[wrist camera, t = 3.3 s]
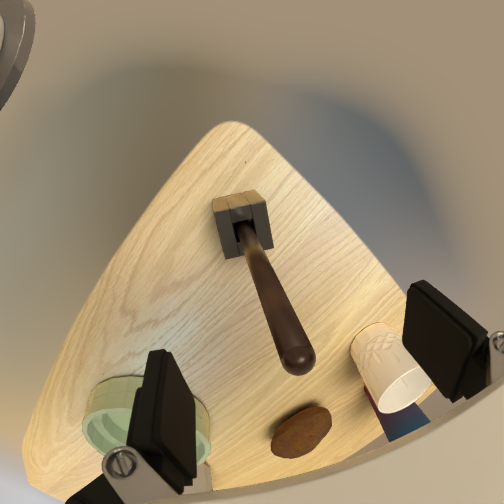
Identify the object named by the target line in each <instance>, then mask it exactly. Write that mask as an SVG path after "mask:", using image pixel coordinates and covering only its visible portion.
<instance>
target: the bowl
mask: <svg viewBox="0 0 504 504" xmlns="http://www.w3.org/2000/svg"><path fill="white" fill-rule="evenodd" d="M142 383H143V377H133V376H127V377H119V378H112V379H109V380H107V381H105V382H102V383H100V384H98V385H97V386H96V388H95V389H94V390H93V391H92V393H91V395H90V398H89V401H88V404H87V408H86V411H85V414H84V418H83V421H82V432H83V434H84V436H85V438H86V440H87V442H88V443H89V444H90V445H91V446H92V447H93V448H94V449H96V450H97V451H98V452H99V453H101V454H102V455H104V456H105V455H106V454H107V453H108V452H109V451H110V450H111V449H113V448H116V447H119V446H126V440H127V435H128V429H129V423H130V418H131V412H132V407H133V402H134V397H135V392H136V390H137V388H138V387H142ZM194 400H195V404H196V458H197V466H198V465H200V464H202V463H204V462H205V460H206V459H207V458H208V457H209V455H210V449H211V443H210V430H209V416H208V414H207V412H206V410H205V408H204V406H203V404H202V403H200V402H199V401H198V400H197V399H196V398H195V397H194Z"/></svg>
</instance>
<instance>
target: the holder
mask: <svg viewBox="0 0 504 504" xmlns="http://www.w3.org/2000/svg"><path fill="white" fill-rule="evenodd" d="M213 210H214V216H215V220H216V224H217V228H218V232H219V236H220V240H221V244H222V248H223V252H224V256H225V259H230V258H234V257H239V256H243V255H245V254H244V251H243V248H242V245H241V242H240V239H239V236H238V233H237V230H236V227H235V224H233V223H236V222H240V221H244V220H248V221H249V223H250V225H251V227H252V229H253V230H254V232H255V234H256V236H257V238H258V240H259V242H260V244H261V246H262V248H263V250H268V249H272V248H274V245H273V240H272V234H271V229H270V223H269V218H268V212H267V207H266V201H265V200H264V199H263V198H262V197H261V196H260V195H259V194H258V193H257V192H256V190H251V191H247V192H243V193H237V194H233V195H229V196H224V197H220V198H216V199H213Z"/></svg>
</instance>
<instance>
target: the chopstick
mask: <svg viewBox="0 0 504 504" xmlns="http://www.w3.org/2000/svg"><path fill="white" fill-rule="evenodd" d="M234 224H235V227H236V230H237V233H238V236H239V239H240V242H241V245H242V248H243V251H244V254H245V257H246V260H247V263H248V266H249V269H250V272H251V275H252V278H253V281H254V284H255V287H256V290H257V293H258V296H259V299H260V302H261V305H262V308H263V311H264V313H265V316H266V319H267V322H268V325H269V328H270V331H271V334H272V337H273V340H274V343H275V346H276V349H277V352H278V354H279V357H280V360H281V363H282V366H283V368H284V369H285V370H286V371H287V372H288V373H290V374H292V375H296V376H300V375H304V374H306V373H308V372H310V371H311V370H312V368H313V367H314V365H315V362H316V355H315V351H314V349H313V347H312V345H311V343H310V341H309V339H308V337H307V335H306V333H305V331H304V329H303V327H302V325H301V323H300V321H299V319H298V317H297V315H296V313H295V311H294V309H293V307H292V305H291V303H290V301H289V299H288V297H287V295H286V293H285V291H284V289H283V287H282V285H281V283H280V281H279V280H278V278H277V276H276V274H275V272H274V270H273V268H272V266H271V264H270V262H269V260H268V258H267V256H266V254H265V252H264V250H263V248H262V246H261V244H260V242H259V240H258V238H257V236H256V234H255V232H254V230H253V229H252V227H251V225H250V223H249V221H248V220H244V221H240V222H236V223H234Z"/></svg>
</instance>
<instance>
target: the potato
mask: <svg viewBox="0 0 504 504" xmlns="http://www.w3.org/2000/svg"><path fill="white" fill-rule="evenodd" d="M331 426H332V419H331V415H330V412H329V411H328V409H326V408H323V407H311V408H307V409H304V410H302V411H300V412H298V413H297V414H295V415H294V416H292V417H291V418H289V419H288V420H286V421H284V422H283V423H282V424H281V425H280V426H279V427H278V428H277V429H276V430H275V432H274V435H273V437H272V441H271V451H272V453H273V454H274V455H276V456H278V457H282V458H290V459H293V458H297V457H300V456H303V455H305V454H307V453H309V452H311V451H312V450H313V449H314V448H315V447H316V446H317V445H318V444H319V443H320V441H321V440H322V439H323V438H324V437H325V436H326V434H327V433H328V432H329V430H330V429H331Z"/></svg>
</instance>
